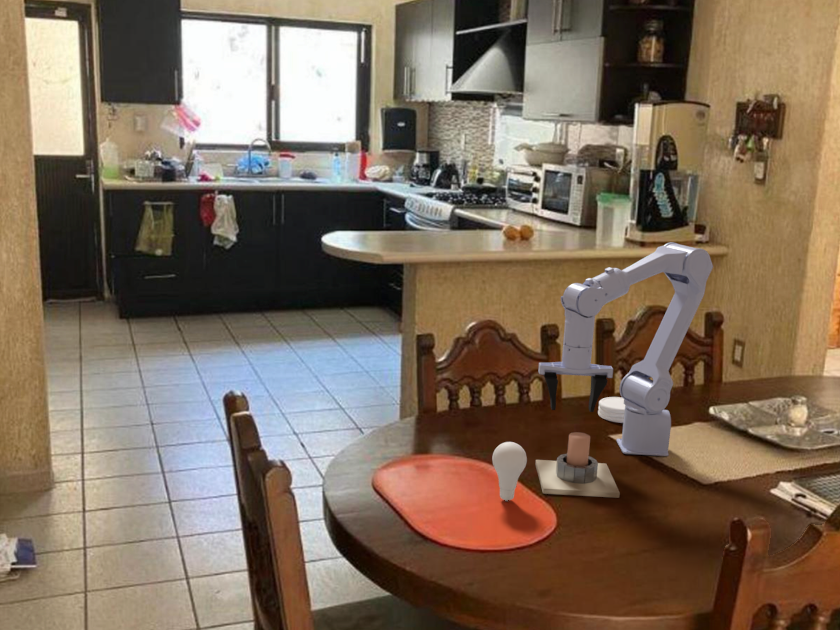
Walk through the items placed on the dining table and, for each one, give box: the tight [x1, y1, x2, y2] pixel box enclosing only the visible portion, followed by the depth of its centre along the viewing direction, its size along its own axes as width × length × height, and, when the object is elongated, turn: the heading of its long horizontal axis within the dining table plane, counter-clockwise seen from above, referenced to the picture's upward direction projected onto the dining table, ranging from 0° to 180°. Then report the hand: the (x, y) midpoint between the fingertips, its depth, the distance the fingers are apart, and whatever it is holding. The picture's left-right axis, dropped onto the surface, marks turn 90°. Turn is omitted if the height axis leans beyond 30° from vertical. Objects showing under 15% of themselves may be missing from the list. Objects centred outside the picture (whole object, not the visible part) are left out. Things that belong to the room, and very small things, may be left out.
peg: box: [566, 431, 591, 467], centre depth 170 cm, size 4×4×8 cm
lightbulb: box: [491, 441, 528, 502], centre depth 159 cm, size 6×6×11 cm
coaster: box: [597, 396, 625, 424], centre depth 209 cm, size 10×10×4 cm
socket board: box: [534, 453, 621, 499], centre depth 171 cm, size 14×14×4 cm
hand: (572, 409), depth 180 cm, fingers open, 7 cm apart
